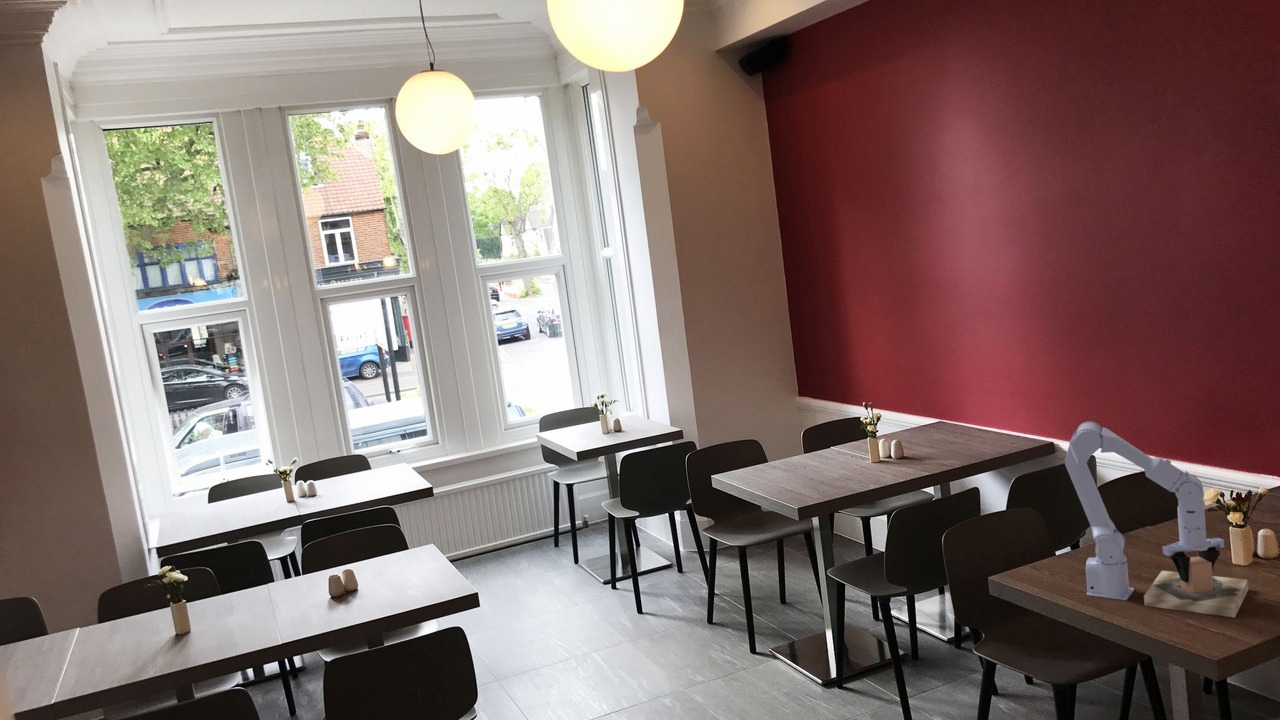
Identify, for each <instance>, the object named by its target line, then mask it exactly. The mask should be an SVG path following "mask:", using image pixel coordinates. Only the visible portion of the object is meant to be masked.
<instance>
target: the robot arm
mask: <svg viewBox="0 0 1280 720" xmlns="http://www.w3.org/2000/svg"><path fill="white" fill-rule="evenodd" d="M1099 449H1101V450H1100V453H1101V454H1102V453H1103V454H1104V453H1106V454H1107V453H1115V454H1117V455H1118V456H1120V457H1122V458H1123V459H1125V460H1127V461H1129V462H1131V463H1132V464H1134V465H1136V466H1138V467H1139V468H1141V469H1143V470H1144V473H1145V477H1146V478H1148V479H1150V480H1151V481H1152V482H1154V483H1156V484H1158V485H1159V486H1161V487H1162V488H1164V489H1166V490H1167V491H1168V492H1171V493H1175V497H1176V498H1177V504H1178V506H1177V507H1176V508H1177V522H1178V523H1177V525H1178V534H1179V535H1178V539H1179V541H1176V542H1173V543H1170V544H1167V545H1162V554H1163V555H1164V556H1167V557H1169V558H1170V559H1171V560H1172V562H1173V564H1174V566H1175V568H1176V570H1177V572H1178V573H1179V576H1180V579H1181V581H1183V582H1186V583H1187V582H1188V581H1189V571H1188V569H1189V562H1190V559H1191V558H1190V556H1187V554H1186V553H1189V552H1190V553H1191V552H1196V551H1197V553H1198V556H1199V557H1201V558H1203V559H1205V560H1207V561H1209V562H1211V563H1212V571H1213V568H1214V566H1215V564H1216V562H1217V560H1218V558H1219V557H1220V555H1221V553H1220V550H1219V549H1217V548H1220V549H1223V548H1225V540H1224V539H1222V538H1220V537H1214V538H1207V530H1206V515H1205V514H1206V513H1205V507H1204V504H1205V503H1204V496H1205V493H1204V485H1203V483H1202V481H1201V479H1199V478H1198V477H1197V475H1195V474H1190V472H1189V471H1187V470H1186V471H1183V470H1181V469H1180V468H1178V467H1177V466H1175V465H1174V464H1172V461H1171V460H1170V459H1168V458H1165V459H1164V458H1162V457H1154V458H1153V457H1151V456H1149V455H1147V454H1146V453H1144V452H1143V451H1142V450H1140V449H1138V448H1137V447H1136V446H1134V445H1133V444H1131V443H1129V442H1128V441H1126V440H1125V439H1123V438H1122V437H1120V436H1119V435H1118V434H1116V433H1115V432H1113V431H1111V429H1108V428H1106V427H1103V426H1101V425H1100V424H1099V423H1097V422H1095V421H1085V422H1082V423H1081V424H1079V425H1078V426H1077V428H1076V430H1075V431H1074V432H1073V434H1072V436H1071V439H1070V440H1069V445H1068V448H1067V452H1066V456H1065V459H1064V464H1065V468H1066V470H1067V472H1068V474H1069V477H1070V480H1071V481H1072V484H1073V486H1074V489H1075V491H1076V493H1077V497H1078V499H1079V501H1080V503H1081V505H1082V508H1083V511H1084V512H1085V516H1086V518H1087V520H1088V523H1089V525H1090V527H1091V532H1092V537H1093V540H1094V542H1095V549H1094V550H1095V552H1094V553H1095V557H1088V558H1087V559H1086V561H1085V563H1086V564H1085V578H1086V591H1087V592H1086V595H1087V596H1091V597H1097V598H1107V599H1113V600H1114V599H1115V600H1121V601H1127V600H1128V599H1129V598H1130V596H1131V595H1132V594H1133V592H1134V591H1135V588H1134V587H1130V583H1129V582H1130V581H1129V567H1128V558H1127V556H1126V555H1125V554H1124V547H1125V544H1126V540H1125V537H1124V535H1123V534H1122V532H1120V531H1118V529H1117V527H1116V525H1115V524H1114V522H1113V521H1112V519H1111V518H1110V516H1109V514H1108V511H1107V508H1106V506H1105V504H1104V502H1103V498H1102V497H1101V494H1100V491H1099V490H1098V486H1097V485H1096V483H1095V479H1094V477H1093V476H1092V473H1091V470H1090V469H1089V465H1088V462H1089V459H1090V458H1091V456H1092V455H1093V454H1095V453H1096V452H1097V451H1098V450H1099Z"/></svg>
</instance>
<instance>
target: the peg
mask: <svg viewBox="0 0 1280 720" xmlns="http://www.w3.org/2000/svg"><path fill="white" fill-rule="evenodd" d="M1189 558H1191V559H1190V562H1189V569H1188V571H1189V581H1188V582H1187V583H1186V582H1183V581H1181V579H1180V587H1181V588H1182V589H1184V590H1186V591H1187V592H1189V593H1191V594H1196V593H1202V592H1208V591H1213V580H1212V576H1213V570H1212V563H1211V562H1209V561H1207V560H1205V559H1203V558H1201V557H1199V555H1198V556H1191V557H1190V556H1189Z"/></svg>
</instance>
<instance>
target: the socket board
mask: <svg viewBox="0 0 1280 720" xmlns="http://www.w3.org/2000/svg"><path fill="white" fill-rule="evenodd" d="M1212 580H1213V591H1208V592H1202V593H1196V594H1191V593H1189V592H1187V591H1186V590H1184V589H1182V588H1181V587H1180V576H1179V573H1178V571H1171V570H1161V571H1160V573H1159V574H1158V575H1157V577H1156V578H1155V579H1154V581H1153V583H1152V584H1151V585H1150V587H1148V590H1147V591H1146V592H1145V594H1144V595H1143V601H1144V602H1143V603H1144V607H1150V608H1151V607H1152V608H1157V609H1158V608H1159V609H1165V610H1167V609H1168V610H1174V611H1183V612H1188V613H1197V614H1199V613H1200V614H1205V615H1211V616H1212V615H1213V616H1221V617H1228V618H1236V616H1237V614H1238V612H1239V610H1240V608H1241V605H1242V603H1243V601H1244V599H1245V598H1246V595H1247V593H1248V591H1249V580H1248V579H1244V578H1242V579H1241V578H1236V577H1235V578H1234V577H1225V576H1215V575H1212Z"/></svg>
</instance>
